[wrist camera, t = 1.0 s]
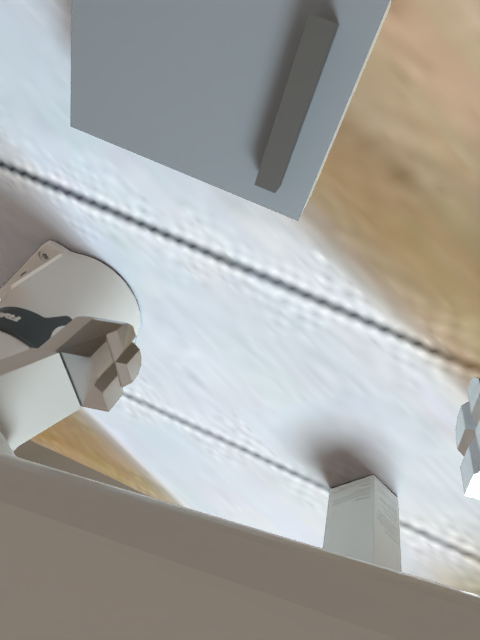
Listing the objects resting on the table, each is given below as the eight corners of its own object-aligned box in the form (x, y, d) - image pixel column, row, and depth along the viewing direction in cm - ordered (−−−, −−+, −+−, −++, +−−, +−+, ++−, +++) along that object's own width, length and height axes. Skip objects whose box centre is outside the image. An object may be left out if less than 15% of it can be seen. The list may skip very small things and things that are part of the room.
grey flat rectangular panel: (391, -3, 22) (392, -9, 20) (299, 217, 31) (293, 230, 29) (81, -118, 23) (50, -136, 21) (76, 124, 32) (54, 130, 30)
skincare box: (353, 509, 60) (345, 619, 48) (327, 486, 59) (313, 594, 47) (401, 496, 55) (406, 616, 43) (374, 471, 54) (372, 587, 42)
